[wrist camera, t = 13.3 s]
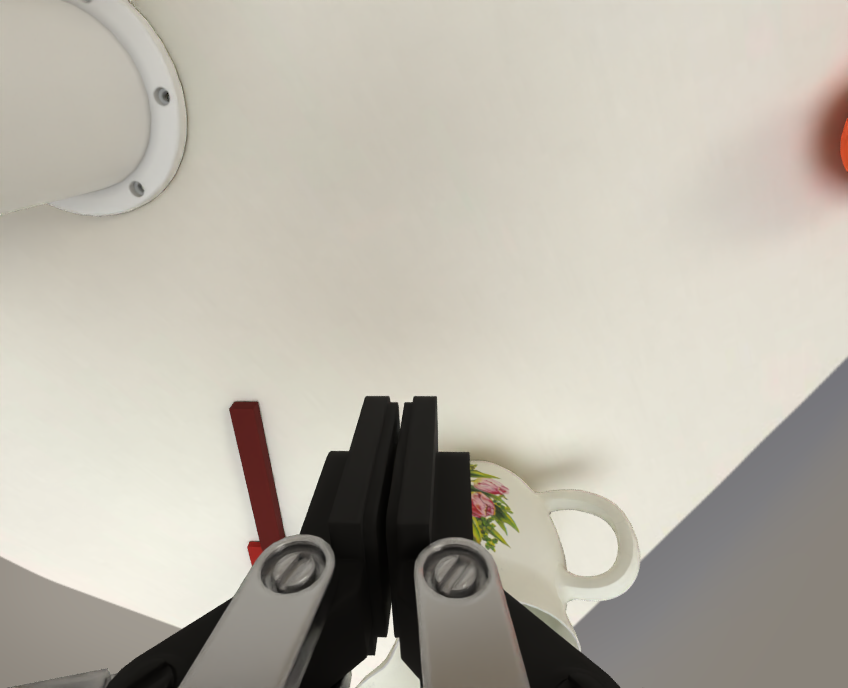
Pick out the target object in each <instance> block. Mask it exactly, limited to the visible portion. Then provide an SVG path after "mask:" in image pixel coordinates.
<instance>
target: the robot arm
mask: <svg viewBox="0 0 848 688" xmlns="http://www.w3.org/2000/svg"><path fill="white" fill-rule="evenodd" d="M167 92H168V94H169V96H170V101H168V100H167V98H166V94H167ZM186 137H187V113H186V107H185V101H184V95H183V90H182V87H181V84H180V81H179V78H178V75H177V72H176V69H175V66H174V64H173V62H172V60H171V58H170V56H169V54H168V52H167V50H166V48H165V47H164V45H163V43H162V41H161V40H160V38H159V37H158V35H157V34H156V33H155V31H154V30H153V28H152V27H151V26H150V24H149V23H148V21H147V20H146V19H145V18H144V17H143V16H142V15H141V14H140V13H139V12H138V11H137V10H136V8H135V7H134V6H133V5H132V4H131V3H130V2H129V1H128V0H0V215H3V214H7V213H11V212H15V211H19V210H23V209H27V208H30V207H34V206H38V205H42V204H46V203H47V204H49V205H51V206H54V207H56V208H58V209H60V210H64V211H68V212H72V213H75V214H79V215H88V216H108V215H116V214H121V213H124V212H127V211H131V210H134V209H136V208H138V207H140V206H142V205H144V204H146V203H148V202H150V201H152V200H153V199H154V198H155V197H156V196H158V195H159V194H160V193H161V192H162V191H164V190H165V188H166V187H167V185H168V184H169V183H170V181H171V180H172V179H173V177H174V176H175V174H176V172H177V169H178V167H179V165H180V162H181V160H182V157H183V153H184V148H185V142H186ZM142 186H143V188H144V190H143V188H142ZM391 602H392V613H393V625H394V636H395V638H399V642H400V655H401V659H402V660H403V662H404V663H405V664H406V665H407V666H408V667H409V668H410V670H411V671H412V672H413V673H414V674H415V675H416V676H417V678H418V679H419V680H420V688H620V686H619V685H617V683H616V682H615V681H614V680H613V679H612V678H611V677H610V676H609V675H608V674H607V673H606V672H604V671H603V670H602V669H601V668H599V667H598V666H597V665H596V664H594V663H593V662H592V661H591V660H590V659H588V658H587V657H586V656H585V655H584V654H582V653H581V652H580V651H579V650H577V649H576V648H575V647H574V646H572V645H571V644H570V643H569V642H568V641H566V640H565V639H564V638H563V637H561V636H560V635H559V634H558V633H557V632H555V631H554V630H553V629H552V628H550V627H549V626H548V625H547V624H545V623H544V622H543V621H542V620H541V619H539V618H538V617H537V616H536V615H534V614H533V613H532V612H531V611H530V610H528V609H527V608H526V607H525V606H523V605H522V604H521V603H520V602H519V601H517V600H516V599H515V598H514V597H512V596H511V595H510V594H509V593H507V592H506V591H505V590H504V589H503V587H502V583H501V579H500V576H499V572H498V568H497V565H496V563H495V561H494V559H493V557H492V555H491V554H490V553H489V552H488V551H487V550H486V549H485V548H484V547H483V546H482V545H480V544H478V543H476V542H475V541H473V520H472V498H471V476H470V455H469V452H438V421H437V396H414V398H413V402H405V403H404V409H403V415H402V421H401V428H400V421H399V406H398V402H390V398H389V396H366V397H365V399H364V403H363V406H362V409H361V413H360V416H359V420H358V423H357V426H356V430H355V433H354V436H353V440H352V443H351V447H350V450H349V451H330V452H329V454H328V456H327V458H326V461H325V464H324V466H323V469H322V472H321V475H320V478H319V481H318V483H317V486H316V489H315V492H314V495H313V498H312V500H311V503H310V506H309V509H308V512H307V514H306V517H305V520H304V523H303V526H302V529H301V531H300V534H299V535H294V536H289V537H285V538H283V539H281V540H279V541H277V542H275V543H273V544H272V545H270V546H269V547H268V548H266V549H265V550H264V551H263V552H262V553H261V555H260V556H259V557H258V558H257V560H256V561H255V563H254V564H253V566H252V568H251V569H250V571H249V573H248V574H247V576H246V577H245V579H244V581H243V582H242V584H241V586H240V587H239V589H238V591H237V592H236V594H235V595H234V597H232V598H231V599H229V600H228V601H226V602H224V603H223V604H221V605H220V606H218V607H217V608H215V609H213V610H212V611H210V612H209V613H207V614H205V615H204V616H202V617H201V618H199V619H197V620H196V621H194V622H193V623H191V624H189V625H188V626H186V627H185V628H183V629H181V630H180V631H178V632H177V633H175V634H173V635H172V636H170V637H169V638H167V639H165V640H164V641H162V642H161V643H159V644H158V645H156V646H154V647H153V648H151V649H149V650H148V651H146V652H145V653H143V654H142V655H140V656H138V657H137V658H135V659H134V660H133V661H132V662H130V663H129V664H128V665H126V666H125V667H124V668H123V669H121V670H120V671H119V672H118V673H117V674H111V675H110V672H109V670H108V668H107V669H101V670H96V671H91V672H86V673H81V674H76V675H70V676H65V677H60V678H55V679H50V680H45V681H40V682H35V683H29V684H24V685H19V686H14V687H9V688H349V687H350V682H351V676H352V673H351V670H352V669H353V668H355V667H356V666H357V665H358V664H359V663H361V662H362V661H363V660H364V659H365V658H367V655H375V651H376V644H377V637H387V633H388V626H389V618H390V610H391Z"/></svg>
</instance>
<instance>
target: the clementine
mask: <svg viewBox="0 0 848 688" xmlns="http://www.w3.org/2000/svg"><path fill="white" fill-rule="evenodd" d="M840 154H841V158H842V161H843V165H844V168H845V169H846V171H847V172H848V118H847V120H846V122H845V126H844V129H843V132H842V136H841V147H840Z"/></svg>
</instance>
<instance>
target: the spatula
mask: <svg viewBox="0 0 848 688" xmlns="http://www.w3.org/2000/svg"><path fill="white" fill-rule="evenodd" d="M229 411H230V415H231V419H232V424H233V428H234V432H235V436H236V441H237V445H238V449H239V454H240V458H241V462H242V467H243V471H244V475H245V480H246V484H247V488H248V493H249V497H250V501H251V506H252V510H253V514H254V519H255V523H256V527H257V532H258V536H259V540H260V542H249V544H248V547H247V548H248V552H249V556H250V560H251V564H252V566H253V564H254V563H255V561H256V560H257V558H258V557H259V556H260V555H261V553H262V552H263V551H264V550H265V549H266V548H268V547H269V546H270V545H272V544H273V543H275V542H277V541H279V540H281V539H283V538H285V534H284V529H283V524H282V519H281V514H280V509H279V504H278V499H277V494H276V489H275V484H274V479H273V474H272V469H271V464H270V459H269V454H268V449H267V444H266V439H265V434H264V429H263V424H262V419H261V415H260V410H259V405H258V402H234V403H233V404H232V406H231V407H230V409H229Z"/></svg>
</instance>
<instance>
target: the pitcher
mask: <svg viewBox="0 0 848 688" xmlns="http://www.w3.org/2000/svg"><path fill="white" fill-rule="evenodd" d="M470 476H471V498H472V520H473V541H475V542H476V543H478V544H480V545H482V546H483V547H484V548H485V549H486V550H487V551H488V552H489V553H490V554H491V555H492V557H493V559H494V561H495V563H496V565H497V568H498V572H499V576H500V579H501V583H502V587H503V589H504V590H505V591H506V592H507V593H509V594H510V595H511V596H512V597H514V598H515V599H516V600H517V601H519V602H520V603H521V604H522V605H523V606H525V607H526V608H527V609H528V610H530V611H531V612H532V613H533V614H534V615H536V616H537V617H538V618H539V619H541V620H542V621H543V622H544V623H545V624H547V625H548V626H549V627H550V628H552V629H553V630H554V631H555V632H557V633H558V634H559V635H560V636H561V637H563V638H564V639H565V640H566V641H568V642H569V643H570V644H571V645H572V646H574V647H575V648H576V649H577V650H579V651H580V652H581V647H580V644H579V641H578V639H577V635H576V633H575V631H574V629H573V627H572V625H571V623H570V621H569V619H568V616H567V614H566V607H567V602H570V601H572V600H576V599H577V600H584V601H605V600H609V599H612V598H616V597H617V596H619V595H621V594H623V593H625V592H626V591H627V590H628V589H629V588H630V587H631V585H632V584H633V582H634V581H635V579H636V577H637V575H638V571H639V567H640V551H639V546H638V541H637V538H636V535H635V533H634V530H633V527H632V525H631V523H630V522H629V520H628V518H627V517H626V515H625V513H624V512H623V511H622V510H621V509H620V508H619V507H618V506H617V505H616V504H615V503H613V502H612V501H610V500H609V499H607V498H605V497H602V496H600V495H597V494H594V493H591V492H587V491H582V490H572V489H569V490H554V491H546V492H541V493H540V492H534V491H532V489H531V488H530V487H529V486H528V485H527V484H526V483H525V482H524V481H523V480H522V479H521V478H520V477H518V476H517V475H516V474H514V473H513V472H511V471H510V470H508V469H506V468H503V467H501V466H499V465H497V464H494V463H491V462H487V461H478V460H475V461H470ZM560 510H577V511H582V512H586V513H590V514H593V515H595V516H598V517H600V518H601V519H603V520H605V521H606V522H607V523H608V524H609V525H610V526H611V527H612V529H613V531H614V532H615V534H616V537H617V541H618V554H617V558H616V561H615V563H614V565H613V566H612V567H611V568H610V569H609V570H608V571H607V572H605V573H603V574H600V575H597V576H578V575H575V574H572V573H571V572H569V571H567V566H566V560H565V555H564V551H563V547H562V544H561V542H560V539H559V536H558V533H557V530H556V528H555V526H554V524H553V521H552V519H551V518H550V513H551V512H554V511H560ZM356 688H420V680H419V679H418V678H417V676H416V675H415V674H414V673H413V672H412V671H411V670H410V668H409V667H408V666H407V665H406V664H405V663H404V662H403V660H402V659H401V655H400V642H399V638H396V641H395V643H394V645H393V647H392V649H391V650H390V652H389V654H388V656H387V658H386V659H385V660H384V661H383V662H382V663H381V664H380V665H379V666H378V667H377V668H375V669H374V670H373V671H372V672H370V673H369V674H368V675H367V676H365V677H364V678H363V680H362V681H361V682H360V683H359V684H358V686H357V687H356Z"/></svg>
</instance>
